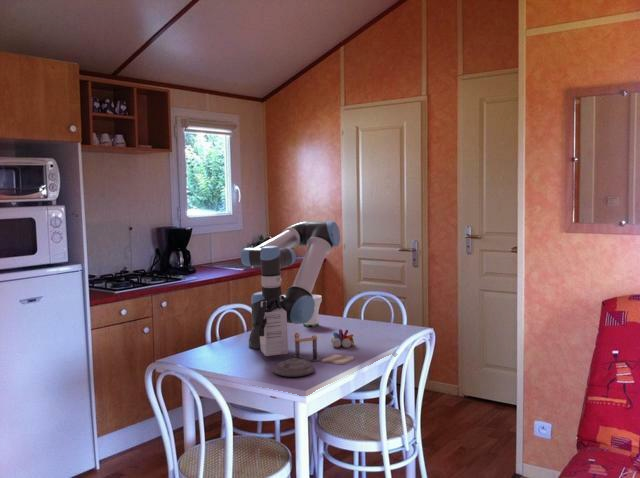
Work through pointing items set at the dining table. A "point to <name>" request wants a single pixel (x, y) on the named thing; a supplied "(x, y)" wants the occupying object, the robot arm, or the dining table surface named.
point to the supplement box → (276, 333)
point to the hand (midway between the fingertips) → (273, 339)
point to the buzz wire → (297, 340)
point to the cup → (315, 312)
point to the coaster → (338, 359)
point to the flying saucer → (294, 368)
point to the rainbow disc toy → (342, 339)
